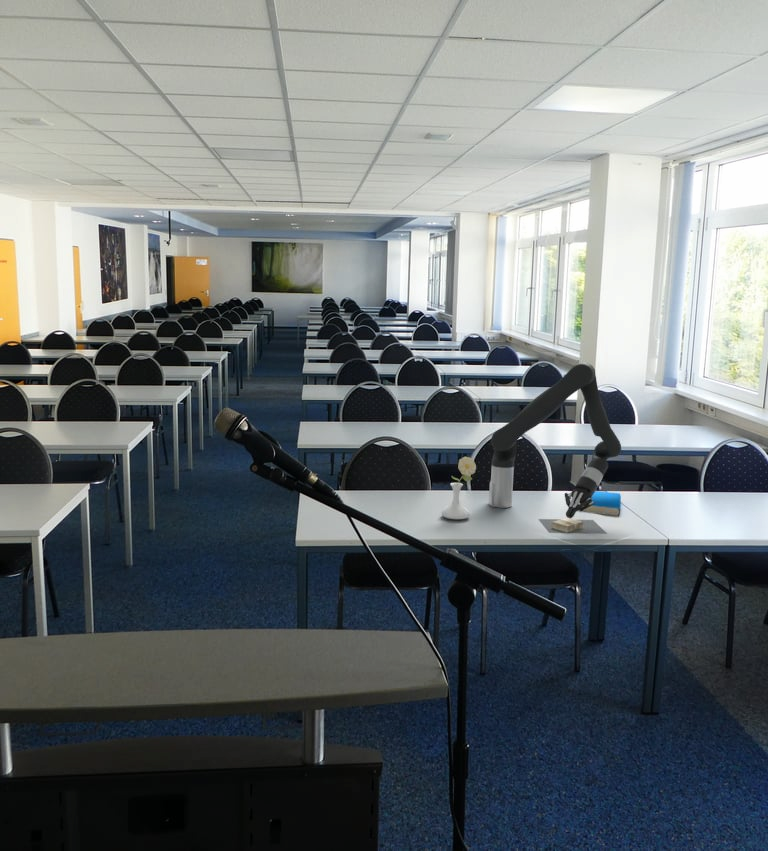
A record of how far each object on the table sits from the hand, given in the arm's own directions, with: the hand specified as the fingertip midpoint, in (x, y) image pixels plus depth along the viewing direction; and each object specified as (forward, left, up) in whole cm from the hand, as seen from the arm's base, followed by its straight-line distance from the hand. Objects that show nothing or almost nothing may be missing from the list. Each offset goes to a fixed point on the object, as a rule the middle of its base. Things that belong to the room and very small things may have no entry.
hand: (568, 516), depth 301 cm
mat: (+2, +2, -5) cm, 6 cm away
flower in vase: (-41, +13, -5) cm, 43 cm away
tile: (+4, +3, -3) cm, 6 cm away
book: (+23, +35, -6) cm, 42 cm away
